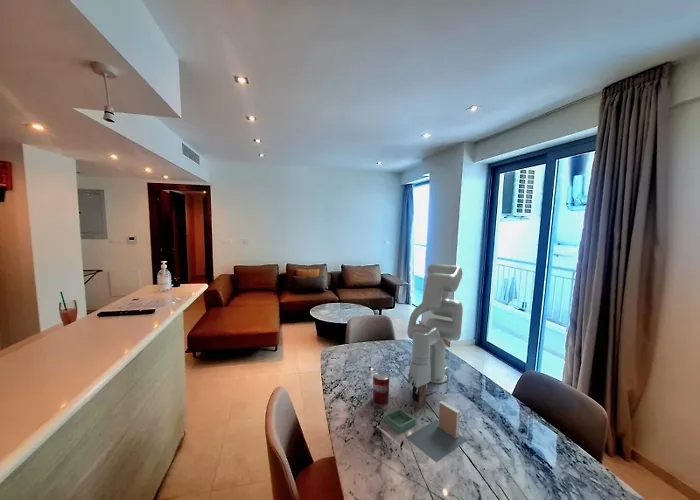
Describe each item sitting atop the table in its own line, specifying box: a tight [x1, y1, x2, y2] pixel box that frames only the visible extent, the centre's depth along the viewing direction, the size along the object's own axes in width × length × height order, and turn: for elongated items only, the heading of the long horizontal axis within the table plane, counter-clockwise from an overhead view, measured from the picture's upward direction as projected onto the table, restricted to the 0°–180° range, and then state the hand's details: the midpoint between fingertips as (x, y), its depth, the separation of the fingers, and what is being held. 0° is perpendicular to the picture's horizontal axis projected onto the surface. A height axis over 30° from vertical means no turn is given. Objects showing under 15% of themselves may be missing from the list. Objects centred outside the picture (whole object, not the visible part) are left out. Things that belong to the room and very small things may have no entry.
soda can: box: [372, 372, 390, 407], centre depth 132 cm, size 7×7×12 cm
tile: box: [438, 400, 461, 438], centre depth 112 cm, size 2×8×10 cm, turn 36°
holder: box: [384, 407, 416, 434], centre depth 117 cm, size 9×9×3 cm
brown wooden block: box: [411, 384, 427, 409], centre depth 129 cm, size 4×4×12 cm
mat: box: [405, 419, 468, 463], centre depth 109 cm, size 18×14×1 cm
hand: (419, 398), depth 129 cm, fingers closed on brown wooden block, 4 cm apart
